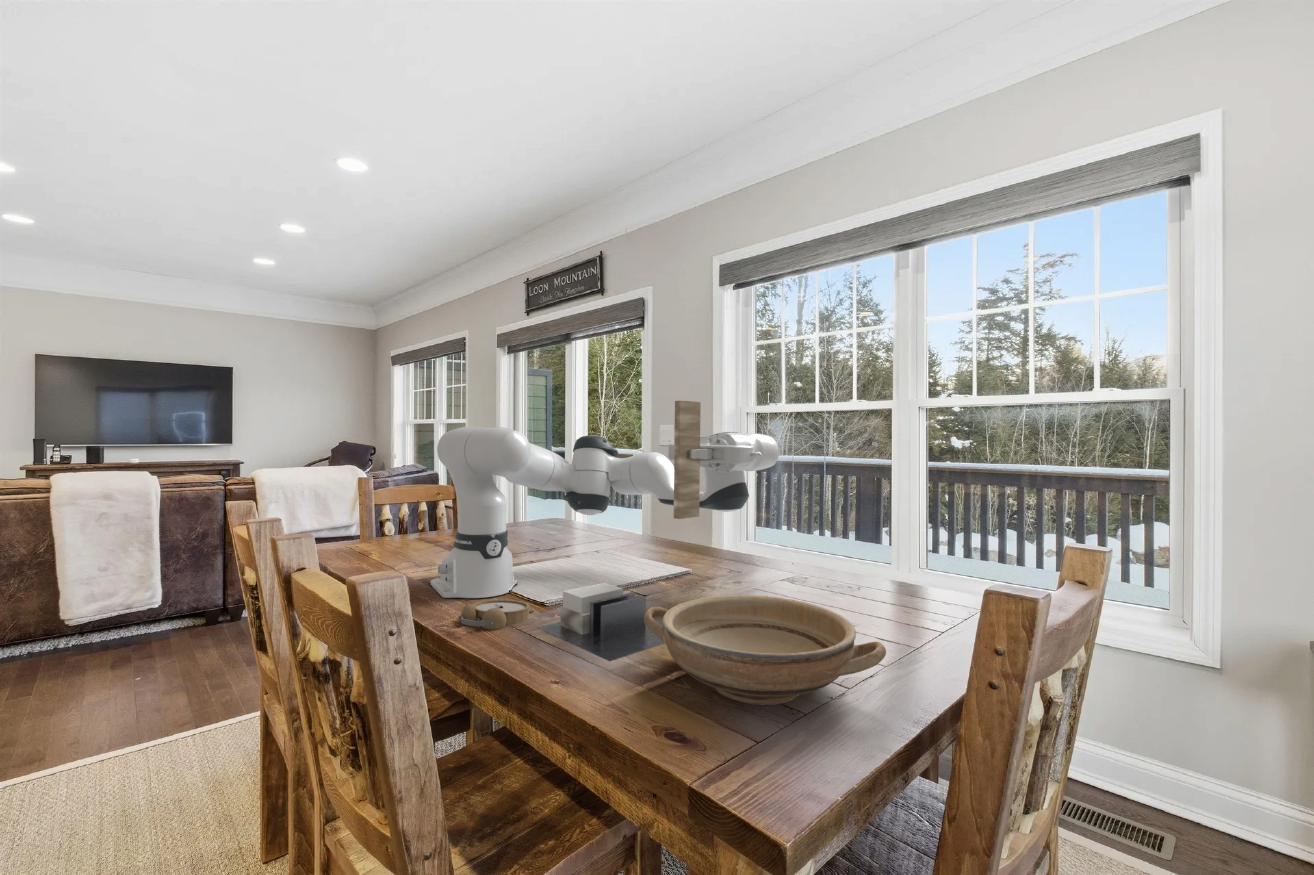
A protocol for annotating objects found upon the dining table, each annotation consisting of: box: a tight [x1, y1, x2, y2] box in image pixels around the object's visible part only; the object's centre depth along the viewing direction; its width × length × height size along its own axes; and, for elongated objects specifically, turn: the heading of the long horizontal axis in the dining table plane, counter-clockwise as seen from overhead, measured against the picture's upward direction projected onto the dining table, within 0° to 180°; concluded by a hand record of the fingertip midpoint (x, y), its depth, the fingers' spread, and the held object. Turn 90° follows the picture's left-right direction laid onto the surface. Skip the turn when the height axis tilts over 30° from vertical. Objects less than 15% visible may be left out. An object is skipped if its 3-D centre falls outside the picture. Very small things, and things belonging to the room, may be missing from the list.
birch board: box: [673, 400, 701, 520], centre depth 122 cm, size 2×6×24 cm, turn 134°
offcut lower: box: [560, 606, 590, 635], centre depth 115 cm, size 7×12×4 cm, turn 133°
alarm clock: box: [458, 599, 534, 631], centre depth 116 cm, size 11×5×15 cm
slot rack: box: [536, 592, 666, 662], centre depth 111 cm, size 22×20×7 cm
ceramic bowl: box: [644, 594, 887, 706], centre depth 89 cm, size 37×29×10 cm
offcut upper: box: [562, 582, 624, 614], centre depth 115 cm, size 6×10×3 cm, turn 133°
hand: (684, 453), depth 121 cm, fingers closed on birch board, 2 cm apart
